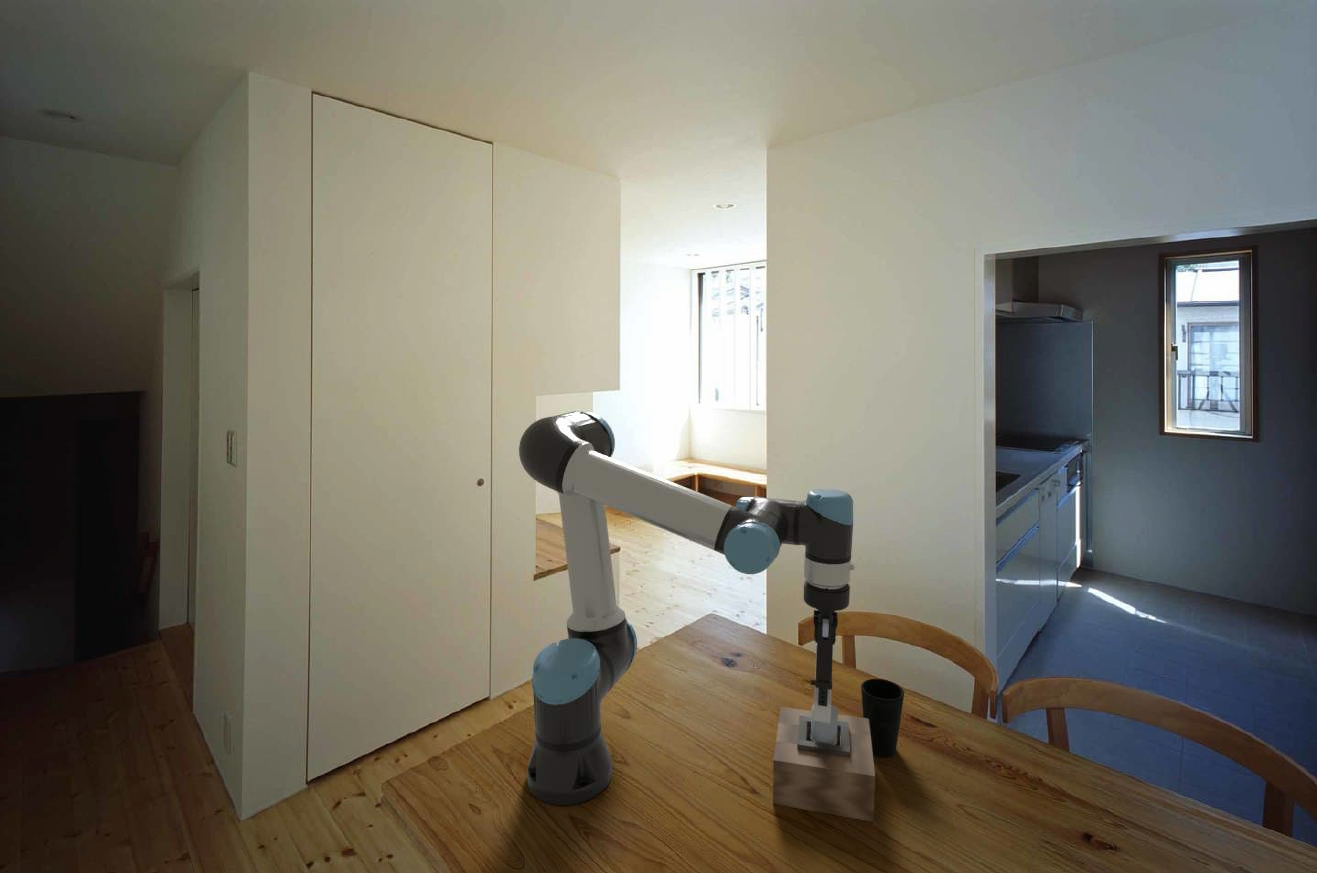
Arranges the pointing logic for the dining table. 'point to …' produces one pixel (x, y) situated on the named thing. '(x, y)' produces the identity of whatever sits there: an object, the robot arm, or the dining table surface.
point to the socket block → (824, 767)
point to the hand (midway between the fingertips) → (822, 698)
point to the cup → (882, 714)
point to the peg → (825, 728)
